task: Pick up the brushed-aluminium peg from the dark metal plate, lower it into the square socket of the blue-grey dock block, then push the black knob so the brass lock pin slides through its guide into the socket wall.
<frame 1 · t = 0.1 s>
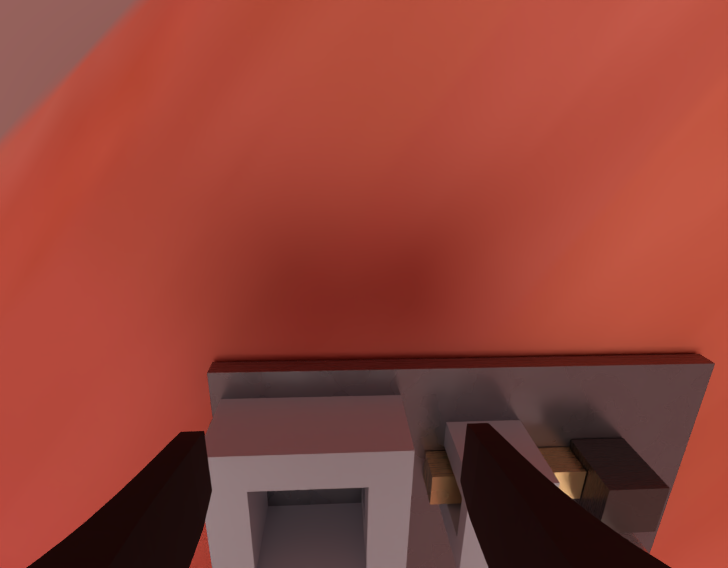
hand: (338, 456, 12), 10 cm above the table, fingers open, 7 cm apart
lock pin: (536, 486, 22), point 3 cm above the table, slide at 0.0 cm
socket: (314, 467, 23), resting on base plate
base plate: (451, 477, 25), on the table
pin guide: (477, 462, 24), resting on base plate
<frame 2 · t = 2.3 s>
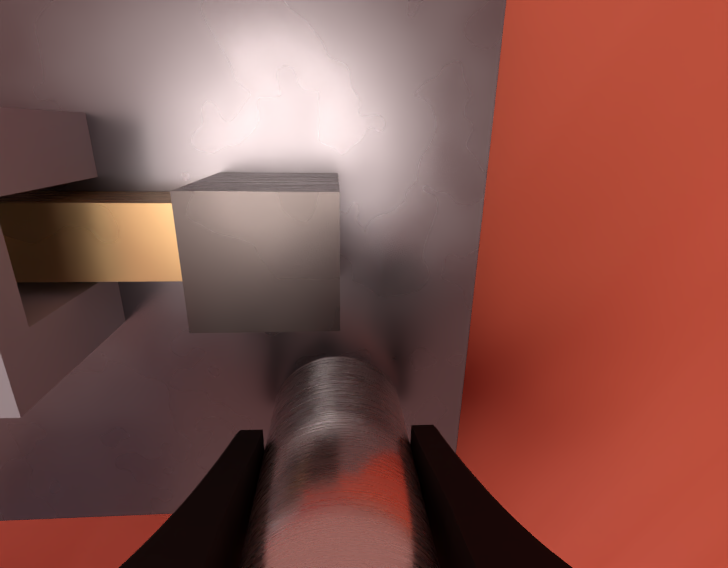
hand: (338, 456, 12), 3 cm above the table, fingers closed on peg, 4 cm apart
peg: (337, 411, 14), point 1 cm above the table, touching base plate, gripper
lock pin: (90, 243, 9), point 3 cm above the table, slide at 0.0 cm
base plate: (31, 285, 13), on the table
pin guide: (26, 225, 11), resting on base plate
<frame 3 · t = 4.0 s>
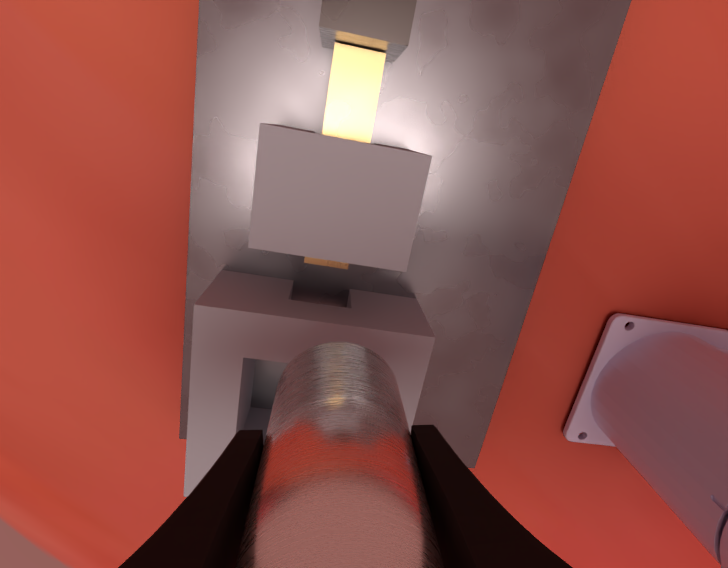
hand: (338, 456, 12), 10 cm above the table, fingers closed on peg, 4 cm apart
peg: (338, 396, 14), point 8 cm above the table, touching gripper
lock pin: (348, 123, 16), point 3 cm above the table, slide at 0.0 cm
socket: (308, 369, 21), resting on base plate
base plate: (376, 213, 20), on the table
pin guide: (337, 186, 18), resting on base plate
when the fingers open (5 cm above the table, at t = 5.5 s): peg drops 2 cm, resting on base plate.
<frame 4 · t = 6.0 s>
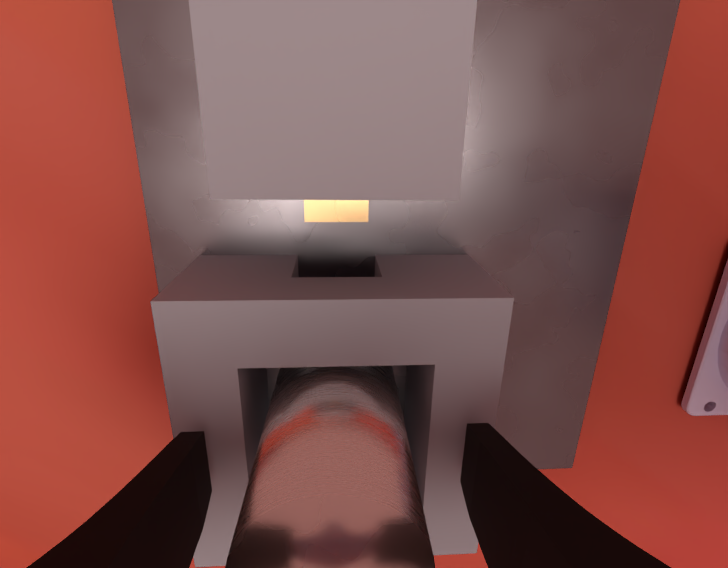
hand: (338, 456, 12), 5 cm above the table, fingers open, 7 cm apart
peg: (336, 366, 16), point 1 cm above the table, touching base plate
socket: (337, 371, 16), resting on base plate
base plate: (396, 145, 14), on the table
pin guide: (335, 110, 13), resting on base plate
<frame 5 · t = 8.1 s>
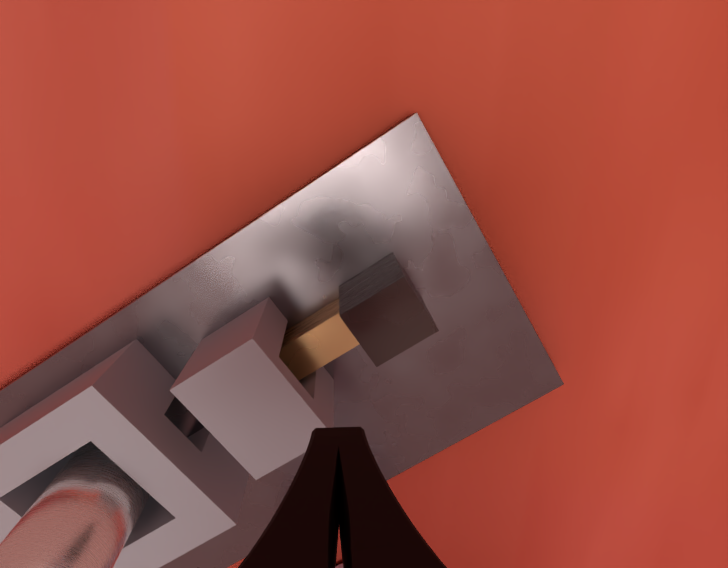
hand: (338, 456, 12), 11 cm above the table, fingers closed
peg: (133, 443, 22), point 1 cm above the table, touching base plate
lock pin: (309, 352, 19), point 3 cm above the table, slide at 0.0 cm
socket: (130, 445, 22), resting on base plate
base plate: (279, 387, 23), on the table
pin guide: (269, 360, 21), resting on base plate
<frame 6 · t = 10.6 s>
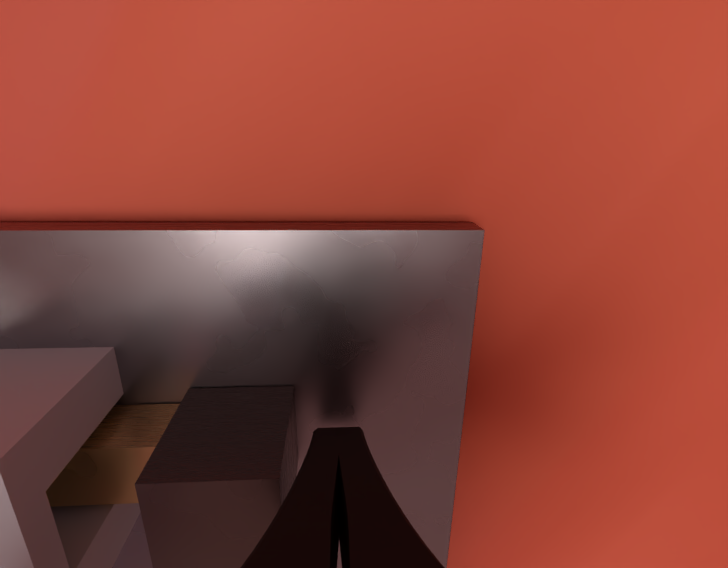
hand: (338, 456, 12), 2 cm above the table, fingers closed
lock pin: (72, 477, 11), point 3 cm above the table, slide at 1.2 cm, touching gripper
base plate: (61, 462, 14), on the table
pin guide: (60, 431, 12), resting on base plate
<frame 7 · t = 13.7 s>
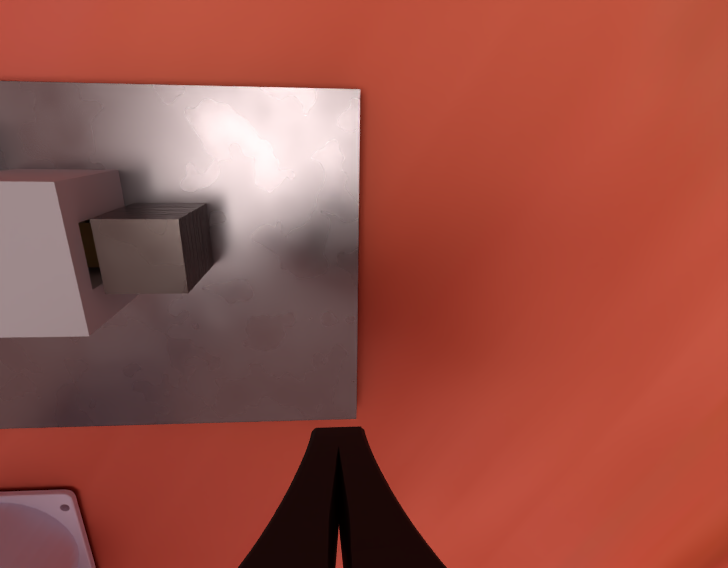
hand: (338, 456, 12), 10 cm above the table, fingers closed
lock pin: (54, 245, 17), point 3 cm above the table, slide at 2.6 cm
base plate: (80, 271, 20), on the table
pin guide: (82, 234, 18), resting on base plate
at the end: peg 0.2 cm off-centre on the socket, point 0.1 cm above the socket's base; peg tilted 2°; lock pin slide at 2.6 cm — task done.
